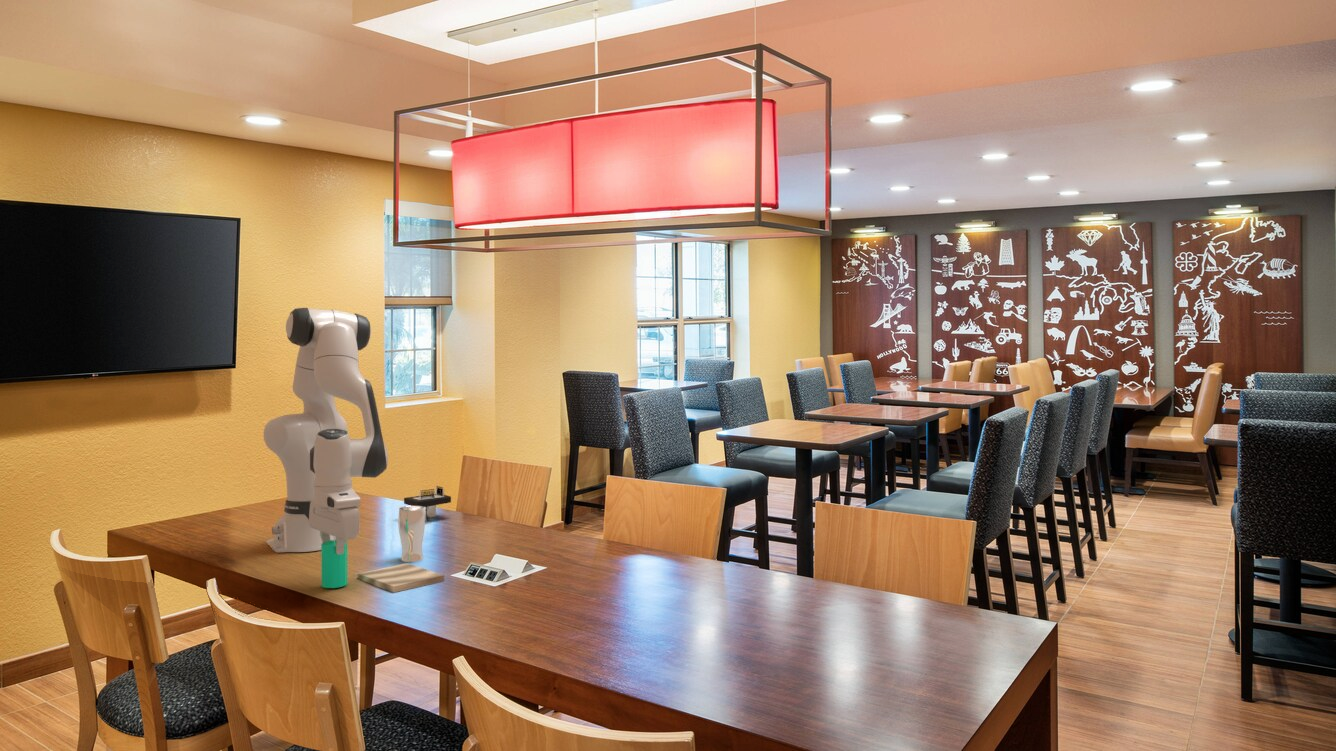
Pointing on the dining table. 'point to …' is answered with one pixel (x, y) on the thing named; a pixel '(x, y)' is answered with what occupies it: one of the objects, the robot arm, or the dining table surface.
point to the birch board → (401, 577)
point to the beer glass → (411, 532)
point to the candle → (333, 565)
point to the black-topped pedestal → (429, 501)
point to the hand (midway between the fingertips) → (333, 551)
